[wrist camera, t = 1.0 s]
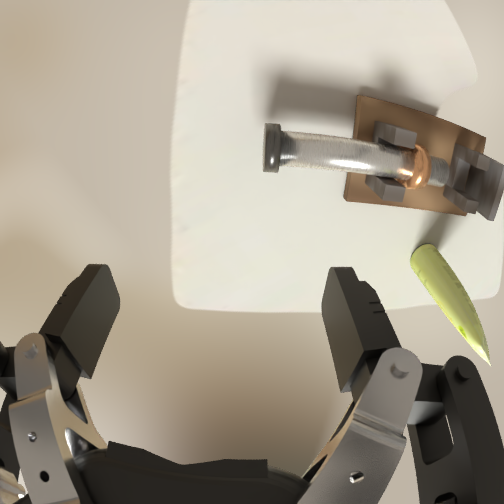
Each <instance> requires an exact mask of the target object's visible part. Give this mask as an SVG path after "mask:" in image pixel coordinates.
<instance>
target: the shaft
mask: <svg viewBox="0 0 504 504" xmlns="http://www.w3.org/2000/svg"><path fill="white" fill-rule="evenodd" d="M279 166H287V167H302V168H314V169H325V170H335V171H344V172H353V173H361V174H368V175H375V176H382V177H389V178H395V179H397V181H398V182H399V183H401V184H402V185H403V186H404V187H406V188H408V189H414V190H421V189H423V188H424V187H425V186H426V184H428V185H433V186H438V187H442V186H444V185H445V184H446V183H447V181H448V178H449V166H448V164H447V162H446V160H444V159H443V158H439V157H436V156H432V155H430V154H429V152H428V150H427V149H426V148H425V147H424V146H423V145H419V144H415V148H414V149H412V148H408V147H403V146H400V147H395V146H390V145H385V144H380V143H375V142H369V141H363V140H357V139H351V138H344V137H337V136H330V135H322V134H313V133H303V132H291V131H281V126H280V124H271V123H265V128H264V139H263V172H275V173H277V172H278V170H279Z"/></svg>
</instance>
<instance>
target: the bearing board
mask: <svg viewBox="0 0 504 504" xmlns="http://www.w3.org/2000/svg"><path fill="white" fill-rule="evenodd" d="M353 139H357V140H363V141H369V142H375V143H380V144H385V145H390V146H395V147H400V146H403V147H408V148H412V149H414V148H415V144H419V145H423V146H424V147H425V148H426V149H427V150H428V152H429V154H430V155H432V156H436V157H439V158H443V159H444V160H446V162H447V164H448V166H449V178H448V181H447V183H446V184H445V185H444V186H442V187H438V186H433V185H428V184H426V186H425V187H424V188H423V189H421V190H414V189H408V188H406V187H404V186H403V185H402V184H401V183H399V182H398V181H397V179H395V178H389V177H382V176H375V175H368V174H361V173H353V172H348V173H347V179H346V185H345V190H344V196H343V197H344V199H345V200H346V201H349V202H360V203H370V204H380V205H389V206H398V207H406V208H414V209H422V210H429V211H436V212H443V213H449V214H456V215H462V216H466V215H467V213H472V214H476V211H477V212H479V213H480V214H481V215H482V216H484V217H485V218H486V219H487V220H490V221H494V218H495V216H496V213H497V210H498V207H499V204H500V200H501V197H502V194H503V190H504V165H503V164H501V163H499V162H497V161H495V160H493V159H492V158H489V157H488V156H486V155H484V154H483V152H484V146H485V142H486V137H484V136H481V135H479V134H477V133H475V132H473V131H470V130H468V129H466V128H463V127H461V126H459V125H456V124H454V123H451V122H449V121H446V120H444V119H441V118H438V117H435V116H433V115H430V114H427V113H424V112H421V111H418V110H415V109H411V108H408V107H405V106H401V105H398V104H394V103H390V102H387V101H383V100H379V99H375V98H370V97H366V96H361V95H357V105H356V115H355V123H354V131H353Z"/></svg>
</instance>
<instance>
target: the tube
mask: <svg viewBox="0 0 504 504" xmlns="http://www.w3.org/2000/svg"><path fill="white" fill-rule="evenodd" d="M410 265H411V268H412V269H413V271H414V272H415V274H416V275H417V276H418V278H419V279H420V281H421V282H422V283H423V285H424V286H425V288H426V289H427V290H428V292H429V293H430V295H431V296H432V297H433V299H434V300H435V301H436V303H437V304H438V306H439V307H440V308H441V310H442V311H443V312H444V314H445V315H446V316H447V317H448V319H449V320H450V321H451V322H452V324H453V325H454V326H455V328H456V329H457V330H458V331H459V332H460V333H461V335H462V336H463V337H464V338H465V340H466V341H467V342H468V343H469V344H470V345H471V347H472V348H473V349H474V350H475V351H476V352H477V354H479V355H480V356H481V357H482V358H483V359H484V360H485V361H487V362H488V363H489V364H490V359H489V351H488V346H487V341H486V338H485V334H484V331H483V328H482V326H481V323H480V320H479V318H478V315H477V313H476V310H475V308H474V306H473V304H472V302H471V300H470V298H469V296H468V294H467V292H466V291H465V289H464V287H463V286H462V284H461V282H460V281H459V279H458V278H457V276H456V275H455V273H454V272H453V270H452V269H451V267H450V266H449V265H448V263H447V262H446V261H445V259H444V258H443V257H442V255H441V254H440V253H439V252H438V250H437V249H436V248H435V247H434V246H433V245H431V244H424V245H422V246H420V247H419V248H417V249H416V250H415V252H414V253H413V255H412V257H411V260H410ZM490 366H491V364H490Z"/></svg>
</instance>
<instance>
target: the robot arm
mask: <svg viewBox="0 0 504 504" xmlns="http://www.w3.org/2000/svg"><path fill="white" fill-rule="evenodd" d="M380 302H381V301H380V299H379V297H378V295H377V293H376V291H375V290H374V289H373V288H372V287H371V286H370V285H369V284H368V283H367V282H366V281H359V280H358V278H357V276H356V274H355V271H354V269H353V268H352V267H331V268H330V269H329V272H328V277H327V281H326V286H325V290H324V294H323V299H322V317H323V321H324V324H325V328H326V332H327V336H328V340H329V344H330V349H331V353H332V357H333V361H334V365H335V370H336V374H337V379H338V383H339V388H340V392H341V393H342V392H350V391H351V392H352V396H353V400H352V402H351V403H350V405H349V407H348V409H347V410H346V412H345V414H344V416H343V417H342V419H341V421H340V423H339V424H338V426H337V428H336V429H335V431H334V432H333V434H332V436H331V437H330V439H329V440H328V442H327V444H326V445H325V447H324V448H323V449H322V450H321V452H320V453H319V454H318V456H317V457H316V458H315V460H314V461H313V462H312V464H311V465H310V467H309V468H308V470H307V471H306V472H305V473H304V475H303V476H302V477H299V476H297V475H296V474H293V473H291V472H289V471H286V470H283V469H280V468H276V467H272V466H267V459H266V460H265V459H264V460H235V459H233V460H232V459H223V460H218V461H211V462H204V463H197V464H188V465H181V464H177V463H175V462H172V461H170V460H167V459H165V458H162V457H160V456H158V455H155V454H153V453H151V452H148V451H146V450H144V449H141V448H136V447H131V446H127V445H123V444H119V443H116V442H112V441H109V442H108V446H107V444H106V443H105V441H104V440H103V438H102V437H101V436H100V434H99V433H98V432H97V430H96V428H95V426H94V424H93V422H92V419H91V416H90V414H89V411H88V408H87V405H86V402H85V399H84V396H83V393H82V390H81V387H80V385H79V383H78V380H79V377H84V378H88V379H91V378H92V375H93V373H94V370H95V367H96V364H97V362H98V359H99V357H100V354H101V351H102V349H103V347H104V344H105V342H106V339H107V337H108V335H109V332H110V330H111V328H112V325H113V323H114V321H115V318H116V316H117V314H118V312H119V309H120V297H119V293H118V291H117V288H116V285H115V282H114V280H113V277H112V274H111V271H110V268H109V267H108V265H106V264H89V265H87V266H86V268H85V269H84V271H83V272H82V273H81V275H80V276H79V277H77V278H76V279H75V280H74V281H72V282H71V283H70V284H69V285H68V286H67V288H66V289H65V291H64V292H63V294H62V296H61V297H60V298H59V300H58V301H57V304H56V305H55V306H54V308H53V309H52V311H51V313H50V314H49V316H48V318H47V319H46V321H45V323H44V324H43V326H42V328H41V330H40V331H39V333H31V334H28V335H26V336H24V337H23V338H22V339H21V340H20V341H19V342H18V344H17V346H15V347H4V346H3V344H2V343H1V342H0V387H1V388H2V389H3V390H4V391H5V392H6V393H7V394H6V397H5V400H4V402H3V405H2V408H1V412H0V504H378V502H379V500H380V498H381V497H382V495H383V493H384V491H385V489H386V487H387V485H388V483H389V481H390V479H391V477H392V475H393V473H394V471H395V469H396V467H397V465H398V463H399V461H400V458H401V456H402V454H403V451H404V448H405V446H406V437H404V436H403V431H404V428H405V426H406V424H407V427H408V431H409V436H410V441H411V446H412V452H413V457H414V463H415V469H416V476H417V483H418V491H419V500H420V504H504V448H503V443H502V439H501V436H500V432H499V429H498V425H497V422H496V419H495V416H494V413H493V409H492V407H491V404H490V401H489V398H488V395H487V393H486V390H485V388H484V385H483V383H482V380H481V378H480V375H479V373H478V370H477V368H476V366H475V365H474V364H473V362H472V361H470V360H469V359H468V358H466V357H463V356H453V357H451V358H450V359H449V360H448V361H447V362H446V364H445V365H444V366H441V365H431V364H424V363H421V362H420V360H419V359H418V358H417V356H416V355H415V354H414V353H412V352H411V351H409V350H407V349H404V348H402V347H401V345H400V343H399V340H398V338H397V336H396V334H395V331H394V329H393V327H392V325H391V323H390V320H389V318H388V316H387V314H386V313H385V309H384V307H383V305H382V304H381V303H380ZM446 415H447V418H448V422H449V426H450V429H451V433H452V437H453V442H454V444H453V443H452V438H451V434H450V431H449V427H448V423H447V420H446ZM20 469H21V472H22V475H23V478H24V482H25V485H26V488H27V491H28V494H26V495H25V489H24V487H23V486H22V485H21V484H18V477H19V470H20ZM19 497H21V498H20V499H19Z"/></svg>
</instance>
